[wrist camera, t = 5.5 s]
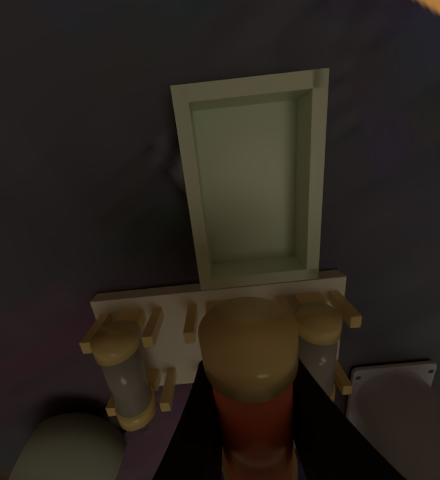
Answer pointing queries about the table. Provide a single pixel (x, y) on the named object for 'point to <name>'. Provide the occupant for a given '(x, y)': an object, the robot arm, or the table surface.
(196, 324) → the fuse holder
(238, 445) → the cylinder
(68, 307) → the table surface
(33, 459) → the air freshener
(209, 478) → the robot arm
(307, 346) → the fuse
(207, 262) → the tray
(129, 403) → the fuse
